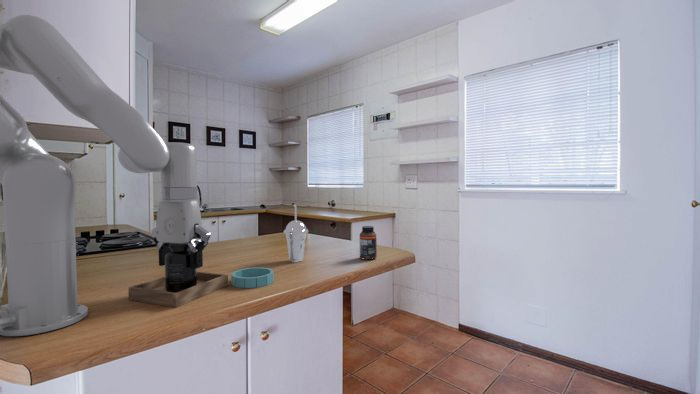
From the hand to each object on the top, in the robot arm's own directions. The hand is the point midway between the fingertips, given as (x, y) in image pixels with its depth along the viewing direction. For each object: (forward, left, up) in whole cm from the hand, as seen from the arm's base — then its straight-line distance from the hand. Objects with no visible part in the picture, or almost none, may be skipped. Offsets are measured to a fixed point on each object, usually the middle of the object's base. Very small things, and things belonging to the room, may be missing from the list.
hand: (180, 266), depth 79 cm
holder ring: (+13, -11, -6) cm, 18 cm away
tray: (0, 0, -6) cm, 6 cm away
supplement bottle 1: (0, 0, -6) cm, 6 cm away
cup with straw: (+38, -10, -6) cm, 40 cm away
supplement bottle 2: (+50, -32, -7) cm, 60 cm away
